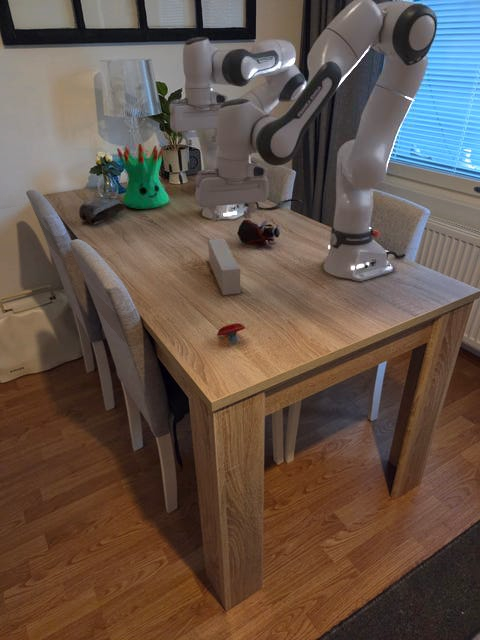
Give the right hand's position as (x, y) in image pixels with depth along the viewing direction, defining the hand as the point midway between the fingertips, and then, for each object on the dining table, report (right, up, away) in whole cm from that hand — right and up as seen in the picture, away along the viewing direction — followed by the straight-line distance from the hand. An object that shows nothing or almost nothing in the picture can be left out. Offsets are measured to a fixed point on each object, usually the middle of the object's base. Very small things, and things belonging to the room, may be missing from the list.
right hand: (231, 219), depth 123 cm
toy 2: (+9, 0, +40) cm, 41 cm away
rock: (-55, +14, +63) cm, 84 cm away
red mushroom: (0, -33, -13) cm, 36 cm away
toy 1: (-41, +25, +81) cm, 94 cm away
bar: (-3, -14, +17) cm, 23 cm away
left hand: (-10, +31, +25) cm, 41 cm away
